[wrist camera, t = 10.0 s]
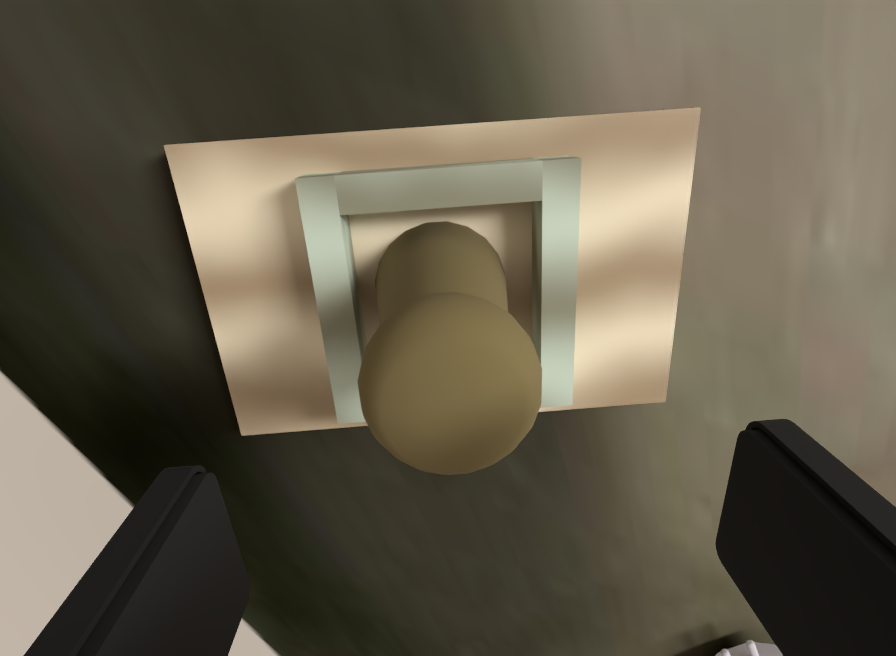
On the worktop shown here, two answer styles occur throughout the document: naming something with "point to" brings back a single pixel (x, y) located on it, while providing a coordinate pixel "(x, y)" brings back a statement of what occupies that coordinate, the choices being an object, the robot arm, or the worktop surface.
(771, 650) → the charger
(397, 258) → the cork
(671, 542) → the worktop surface
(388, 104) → the worktop surface
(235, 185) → the socket board
